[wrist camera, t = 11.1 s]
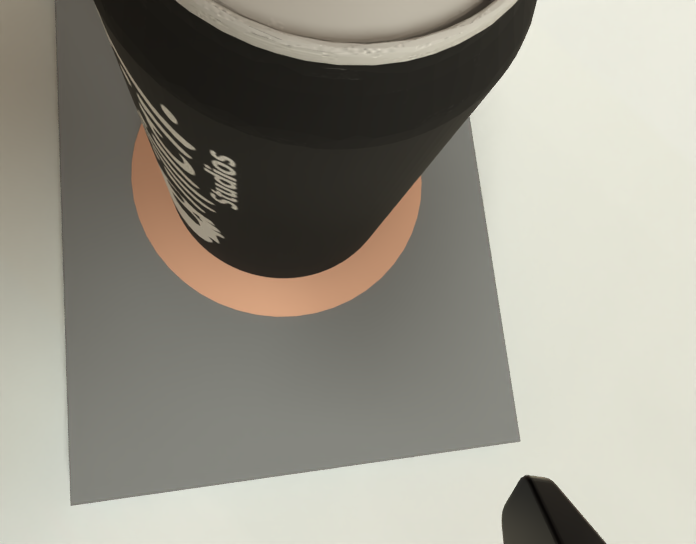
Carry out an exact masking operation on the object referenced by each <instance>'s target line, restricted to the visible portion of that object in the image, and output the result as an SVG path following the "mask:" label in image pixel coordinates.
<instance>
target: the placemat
mask: <svg viewBox="0 0 696 544" xmlns="http://www.w3.org/2000/svg"><path fill="white" fill-rule="evenodd" d="M55 12H56V45H57V77H58V110H59V143H60V175H61V208H62V240H63V273H64V306H65V338H66V371H67V403H68V436H69V469H70V501H71V506H72V505H79V504H86V503H93V502H100V501H107V500H114V499H121V498H128V497H135V496H142V495H149V494H156V493H163V492H170V491H177V490H184V489H191V488H198V487H205V486H212V485H219V484H226V483H233V482H240V481H247V480H254V479H261V478H268V477H275V476H282V475H289V474H296V473H303V472H310V471H317V470H324V469H331V468H338V467H345V466H352V465H359V464H366V463H373V462H380V461H387V460H394V459H401V458H408V457H415V456H422V455H429V454H436V453H443V452H450V451H457V450H464V449H471V448H478V447H485V446H492V445H499V444H506V443H513V442H520V435H519V429H518V422H517V416H516V410H515V403H514V397H513V391H512V384H511V378H510V371H509V365H508V359H507V352H506V346H505V340H504V333H503V327H502V321H501V314H500V308H499V302H498V295H497V289H496V283H495V276H494V270H493V263H492V257H491V251H490V244H489V238H488V232H487V225H486V219H485V213H484V206H483V200H482V194H481V187H480V181H479V175H478V168H477V162H476V155H475V149H474V143H473V136H472V130H471V124H470V117H468V118H467V120H466V121H465V122H464V123H463V124H462V126H461V127H460V128H459V129H458V131H457V132H456V133H455V134H454V135H453V137H452V138H451V139H450V140H449V142H448V143H447V144H446V145H445V146H444V148H443V149H442V150H441V151H440V153H439V154H438V155H437V156H436V157H435V159H434V160H433V161H432V162H431V164H430V165H429V166H428V167H427V168H426V170H425V171H424V172H423V173H422V175H421V176H420V177H419V178H418V179H417V181H416V182H415V183H414V184H413V186H412V187H411V188H410V189H409V190H408V192H407V193H406V194H405V195H404V196H403V198H402V199H401V200H400V201H399V203H398V204H397V205H396V206H395V207H394V209H393V210H392V211H391V212H390V214H389V215H388V216H387V217H386V218H385V220H384V221H383V222H382V223H381V225H380V226H379V227H378V228H377V229H376V231H375V232H374V233H373V234H372V236H371V237H370V238H369V239H368V240H367V242H366V243H365V244H364V245H363V246H362V247H361V248H360V249H359V250H358V251H357V252H355V253H354V254H353V255H352V256H351V257H349V258H348V259H346V260H345V261H343V262H342V263H340V264H338V265H336V266H334V267H332V268H330V269H328V270H326V271H323V272H320V273H317V274H314V275H310V276H305V277H298V278H269V277H262V276H257V275H253V274H250V273H247V272H244V271H241V270H238V269H236V268H234V267H232V266H230V265H228V264H226V263H224V262H222V261H221V260H219V259H218V258H216V257H215V256H213V255H212V254H211V253H209V252H208V251H207V250H206V249H205V248H204V247H202V246H201V245H200V244H199V243H198V242H197V240H196V239H195V238H194V237H193V236H192V235H191V233H190V232H189V231H188V229H187V228H186V226H185V225H184V223H183V222H182V220H181V218H180V216H179V214H178V212H177V210H176V207H175V205H174V202H173V200H172V197H171V195H170V192H169V190H168V187H167V185H166V182H165V180H164V177H163V175H162V172H161V170H160V167H159V165H158V162H157V160H156V157H155V155H154V152H153V150H152V147H151V145H150V142H149V140H148V137H147V134H146V132H145V129H144V127H143V124H142V122H141V119H140V117H139V114H138V112H137V109H136V107H135V104H134V102H133V99H132V97H131V94H130V92H129V89H128V87H127V84H126V82H125V79H124V77H123V74H122V72H121V69H120V67H119V64H118V61H117V59H116V56H115V54H114V51H113V49H112V46H111V44H110V41H109V39H108V36H107V34H106V31H105V29H104V26H103V24H102V21H101V19H100V16H99V14H98V11H97V9H96V6H95V4H94V1H93V0H55Z"/></svg>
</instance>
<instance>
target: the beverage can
mask: <svg viewBox="0 0 696 544" xmlns="http://www.w3.org/2000/svg"><path fill="white" fill-rule="evenodd" d="M93 1H94V4H95V6H96V9H97V11H98V14H99V16H100V19H101V21H102V24H103V26H104V29H105V31H106V34H107V36H108V39H109V41H110V44H111V46H112V49H113V51H114V54H115V56H116V59H117V61H118V64H119V67H120V69H121V72H122V74H123V77H124V79H125V82H126V84H127V87H128V89H129V92H130V94H131V97H132V99H133V102H134V104H135V107H136V109H137V112H138V114H139V117H140V119H141V122H142V124H143V127H144V129H145V132H146V134H147V137H148V140H149V142H150V145H151V147H152V150H153V152H154V155H155V157H156V160H157V162H158V165H159V167H160V170H161V172H162V175H163V177H164V180H165V182H166V185H167V187H168V190H169V192H170V195H171V197H172V200H173V202H174V205H175V207H176V210H177V212H178V214H179V216H180V218H181V220H182V222H183V223H184V225H185V226H186V228H187V229H188V231H189V232H190V233H191V235H192V236H193V237H194V238H195V239H196V240H197V242H198V243H199V244H200V245H201V246H202V247H204V248H205V249H206V250H207V251H208V252H209V253H211V254H212V255H213V256H215V257H216V258H218V259H219V260H221V261H222V262H224V263H226V264H228V265H230V266H232V267H234V268H236V269H238V270H241V271H244V272H247V273H250V274H253V275H257V276H262V277H269V278H298V277H305V276H310V275H314V274H317V273H320V272H323V271H326V270H328V269H330V268H332V267H334V266H336V265H338V264H340V263H342V262H343V261H345V260H346V259H348V258H349V257H351V256H352V255H353V254H354V253H355V252H357V251H358V250H359V249H360V248H361V247H362V246H363V245H364V244H365V243H366V242H367V240H368V239H369V238H370V237H371V236H372V234H373V233H374V232H375V231H376V229H377V228H378V227H379V226H380V225H381V223H382V222H383V221H384V220H385V218H386V217H387V216H388V215H389V214H390V212H391V211H392V210H393V209H394V207H395V206H396V205H397V204H398V203H399V201H400V200H401V199H402V198H403V196H404V195H405V194H406V193H407V192H408V190H409V189H410V188H411V187H412V186H413V184H414V183H415V182H416V181H417V179H418V178H419V177H420V176H421V175H422V173H423V172H424V171H425V170H426V168H427V167H428V166H429V165H430V164H431V162H432V161H433V160H434V159H435V157H436V156H437V155H438V154H439V153H440V151H441V150H442V149H443V148H444V146H445V145H446V144H447V143H448V142H449V140H450V139H451V138H452V137H453V135H454V134H455V133H456V132H457V131H458V129H459V128H460V127H461V126H462V124H463V123H464V122H465V121H466V120H467V118H468V117H469V116H470V115H471V113H472V112H473V111H474V110H475V109H476V107H477V106H478V105H479V104H480V103H481V101H482V100H483V99H484V98H485V96H486V95H487V94H488V93H489V92H490V90H491V89H492V88H493V87H494V85H495V84H496V83H497V82H498V81H499V79H500V78H501V77H502V76H503V74H504V73H505V72H506V70H507V69H508V68H509V66H510V64H511V63H512V61H513V60H514V58H515V57H516V55H517V53H518V51H519V49H520V47H521V45H522V43H523V41H524V39H525V36H526V34H527V32H528V29H529V27H530V25H531V21H532V17H533V14H534V10H535V6H536V2H537V0H93Z"/></svg>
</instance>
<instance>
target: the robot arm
mask: <svg viewBox="0 0 696 544" xmlns="http://www.w3.org/2000/svg"><path fill="white" fill-rule="evenodd" d="M502 531H503V543H504V544H606V543H605V541H604V540H603V539H602V538H601V537H600V535H599V534H598V533H597V532H596V531H595V530H594V528H593V527H592V526H591V525H590V524H589V523H588V521H587V520H586V519H585V518H584V517H583V516H582V514H581V513H580V512H579V511H578V510H577V509H576V507H575V506H574V505H573V504H572V503H571V501H570V500H569V499H568V498H567V497H566V496H565V494H564V493H563V492H562V491H561V490H560V489H559V487H558V486H557V485H556V484H555V483H554V482H553V481H552V480H550V479H548V478H545V477H538V476H530V475H525V476H524V477H522V478H521V479H520V480H519V482H518V484H517V485H516V487H515V489H514V490H513V492H512V494H511V495H510V497H509V499H508V500H507V502H506V504H505V506H504V508H503V512H502Z"/></svg>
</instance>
